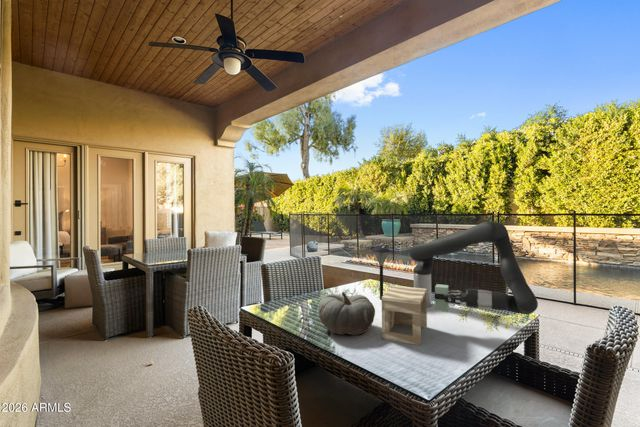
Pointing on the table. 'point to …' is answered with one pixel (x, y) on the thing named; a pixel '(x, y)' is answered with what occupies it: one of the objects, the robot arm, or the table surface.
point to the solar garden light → (381, 263)
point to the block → (441, 304)
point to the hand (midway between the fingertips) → (435, 294)
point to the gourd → (346, 313)
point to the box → (404, 313)
